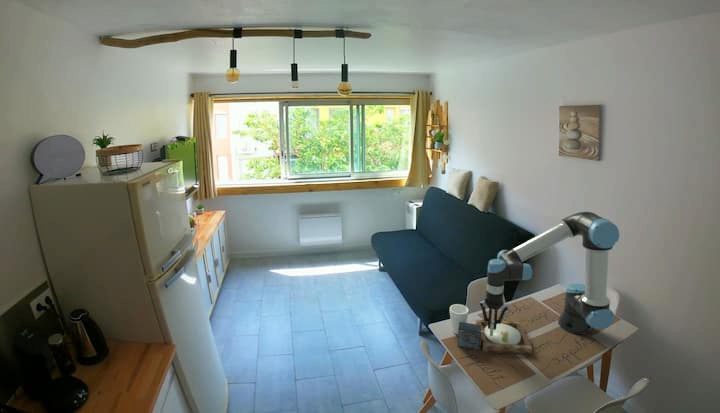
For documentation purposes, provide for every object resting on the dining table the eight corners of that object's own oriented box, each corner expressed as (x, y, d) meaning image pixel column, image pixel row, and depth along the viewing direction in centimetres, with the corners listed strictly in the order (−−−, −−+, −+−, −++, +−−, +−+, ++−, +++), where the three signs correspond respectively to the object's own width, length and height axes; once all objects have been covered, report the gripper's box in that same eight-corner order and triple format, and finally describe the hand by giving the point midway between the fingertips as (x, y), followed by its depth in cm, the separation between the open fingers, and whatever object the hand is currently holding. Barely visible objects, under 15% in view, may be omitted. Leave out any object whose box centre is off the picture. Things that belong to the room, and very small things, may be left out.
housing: (518, 327, 196) (519, 320, 195) (531, 354, 175) (532, 347, 174) (475, 325, 199) (476, 318, 198) (483, 352, 178) (483, 345, 177)
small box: (480, 342, 185) (481, 324, 182) (479, 350, 179) (481, 332, 176) (458, 339, 188) (459, 320, 185) (457, 346, 182) (458, 328, 180)
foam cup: (467, 337, 189) (469, 314, 186) (449, 335, 191) (450, 313, 188) (466, 326, 198) (467, 304, 195) (448, 324, 200) (449, 303, 196)
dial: (482, 325, 196) (483, 314, 194) (516, 328, 193) (517, 317, 191) (486, 345, 180) (487, 334, 178) (524, 349, 177) (525, 337, 175)
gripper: (479, 292, 175) (476, 335, 182) (509, 297, 170) (505, 341, 177) (481, 285, 182) (478, 327, 188) (509, 289, 177) (506, 332, 183)
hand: (491, 334), depth 182 cm, fingers closed
